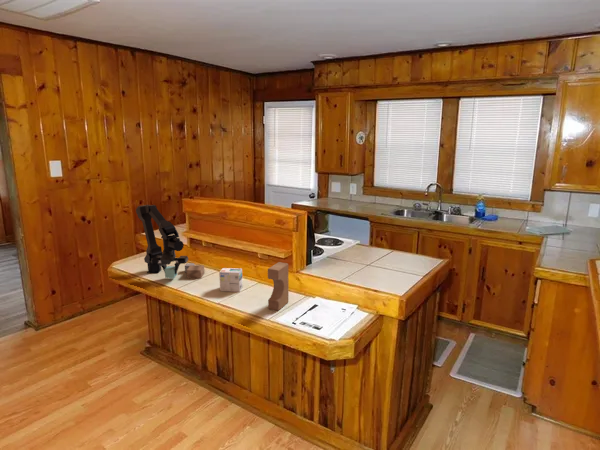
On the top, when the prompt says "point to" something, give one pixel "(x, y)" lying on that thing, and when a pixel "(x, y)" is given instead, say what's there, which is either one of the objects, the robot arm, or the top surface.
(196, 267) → the walnut block
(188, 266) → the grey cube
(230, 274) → the light bulb box
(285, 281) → the decorative block
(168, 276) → the teal cube
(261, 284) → the top surface
